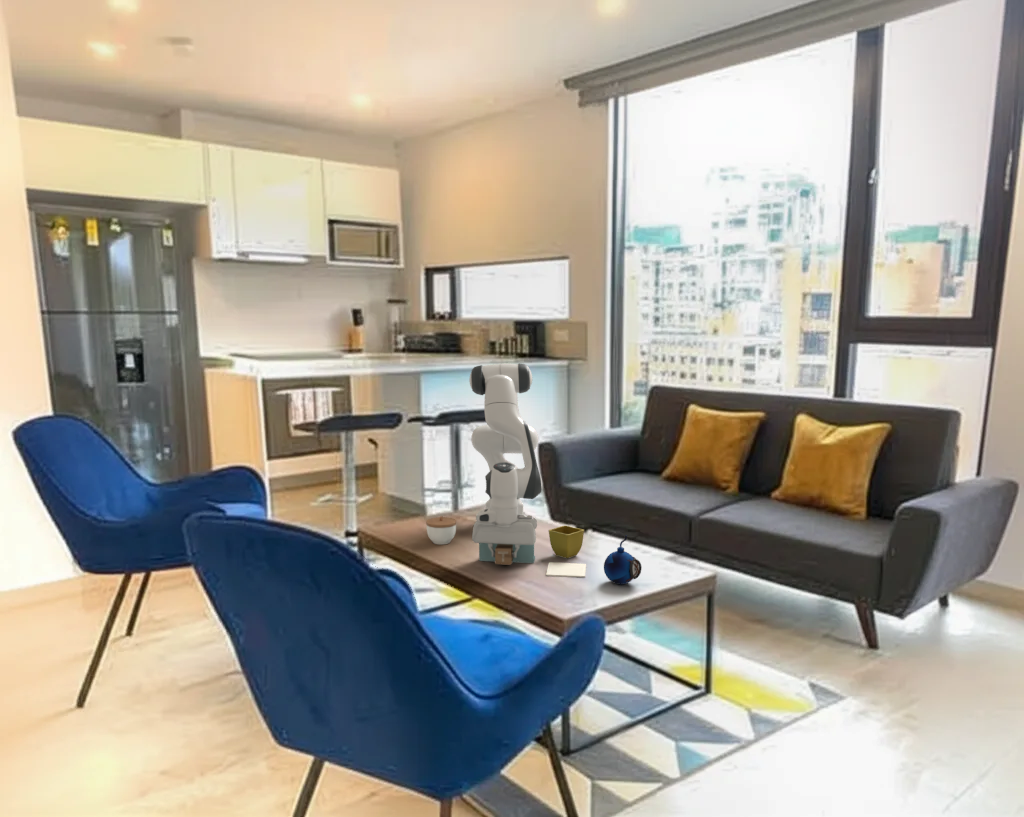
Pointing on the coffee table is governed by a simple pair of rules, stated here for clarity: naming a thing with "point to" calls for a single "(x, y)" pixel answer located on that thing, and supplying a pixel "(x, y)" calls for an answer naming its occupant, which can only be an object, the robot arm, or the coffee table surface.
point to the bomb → (621, 566)
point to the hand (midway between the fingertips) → (504, 556)
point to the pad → (566, 569)
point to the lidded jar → (441, 529)
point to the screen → (523, 553)
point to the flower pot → (566, 541)
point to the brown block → (503, 554)
